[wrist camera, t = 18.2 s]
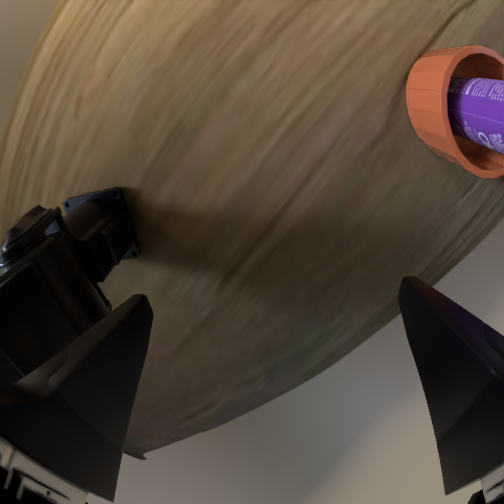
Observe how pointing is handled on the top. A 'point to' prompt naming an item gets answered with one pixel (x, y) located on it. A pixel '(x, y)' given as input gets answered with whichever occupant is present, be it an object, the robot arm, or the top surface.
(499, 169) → the orange-brown bowl
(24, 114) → the top surface
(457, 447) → the robot arm
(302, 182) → the top surface
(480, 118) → the container
